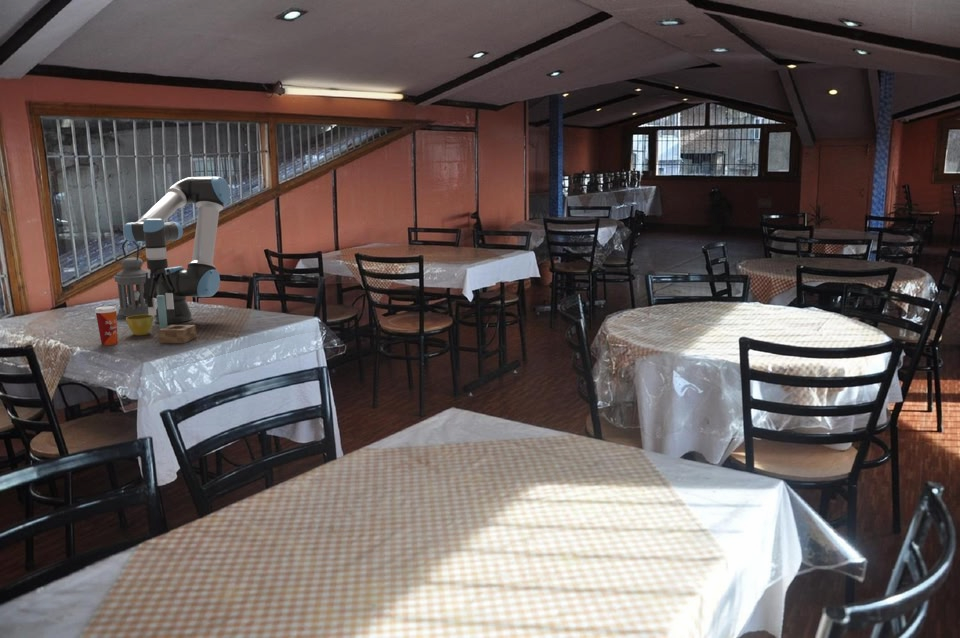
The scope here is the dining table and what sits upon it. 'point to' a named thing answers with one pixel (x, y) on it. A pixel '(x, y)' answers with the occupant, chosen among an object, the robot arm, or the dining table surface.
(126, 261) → the lantern
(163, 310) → the teal rectangular bar
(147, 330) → the flower pot
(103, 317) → the paper cup
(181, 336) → the wooden block with hole
